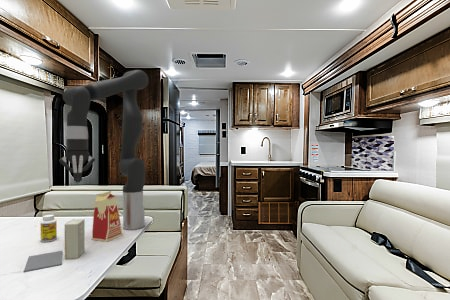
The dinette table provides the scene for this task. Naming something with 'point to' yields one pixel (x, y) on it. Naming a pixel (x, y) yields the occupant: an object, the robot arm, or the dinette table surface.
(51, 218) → the supplement bottle
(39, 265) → the mat
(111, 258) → the dinette table surface
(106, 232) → the milk carton
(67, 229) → the skincare box
